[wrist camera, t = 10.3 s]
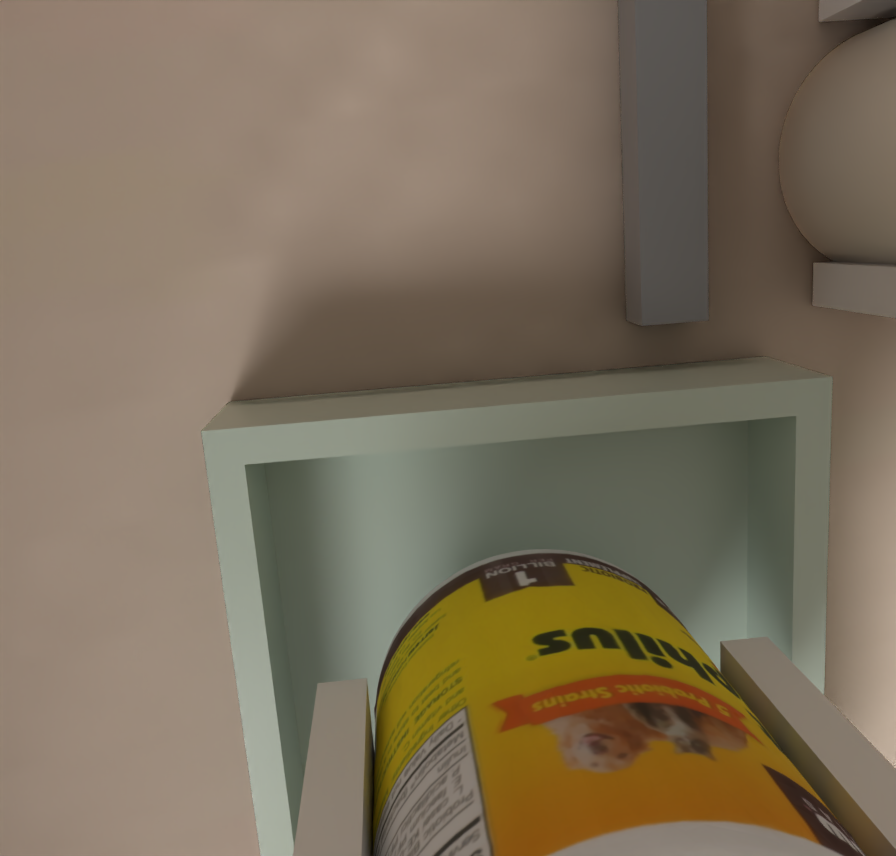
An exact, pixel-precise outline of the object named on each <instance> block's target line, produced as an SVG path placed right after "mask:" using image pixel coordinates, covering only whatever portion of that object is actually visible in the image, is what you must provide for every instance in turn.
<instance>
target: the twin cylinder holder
mask: <svg viewBox="0 0 896 856" xmlns="http://www.w3.org/2000/svg"><path fill="white" fill-rule="evenodd" d="M892 17H896V0H819V22H827V21H843V20H860V19H876V18H892ZM618 28H619V65H620V103H621V141H622V179H623V217H624V255H625V293H626V321H629V322H632V323H635V324H638V325H641V326H647V325H660V324H672V323H684V322H696V321H709V316H708V123H707V0H618ZM778 161H779V178H780V184H781V189H782V194H783V197H784V200H785V203H786V206H787V209H788V211H789V213H790V215H791V217H792V219H793V221H794V223H795V224H796V226H797V227H798V229H799V231H800V232H801V234H802V235H803V236H804V237H805V238H806V239H807V240H808V242H809V243H810V244H811V245H812V246H813V247H815V248H816V249H817V250H818V251H819V252H820V253H822V254H823V255H825V256H826V257H828V258H829V259H831V260H832V261H830V262H817V263H813V303H812V306H819V307H825V308H831V309H838V310H844V311H851V312H857V313H864V314H870V315H877V316H883V317H890V318H896V18H894V19H892V20H890V21H887V22H885V23H883V24H881V25H878V26H876V27H874V28H871V29H869V30H867V31H864V32H862V33H860V34H857V35H855V36H853V37H852V38H850V39H848V40H847V41H845V42H843V43H842V44H840V45H839V46H837V47H836V48H835V49H833V50H832V51H831V52H830V53H828V54H827V55H826V56H825V57H824V58H823V59H822V60H821V61H820V62H819V63H818V64H817V65H816V66H815V67H814V68H813V70H812V71H811V72H810V74H809V75H808V76H807V77H806V79H805V80H804V81H803V83H802V85H801V86H800V88H799V90H798V91H797V93H796V95H795V97H794V99H793V101H792V103H791V105H790V108H789V110H788V113H787V116H786V119H785V122H784V125H783V129H782V134H781V139H780V146H779V159H778Z"/></svg>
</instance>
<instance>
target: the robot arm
mask: <svg viewBox="0 0 896 856" xmlns="http://www.w3.org/2000/svg"><path fill="white" fill-rule="evenodd" d="M720 672H721V674H722V675H723V676H724V677H725V679H726V680H727V681H728V682H729V683H730V685H731V686H732V687H733V688H734V689H735V691H736V692H737V693H738V694H739V695H740V697H741V698H742V699H743V700H744V702H745V703H746V704H747V706H748V707H749V708H750V709H751V711H752V712H753V714H754V715H755V716H756V717H757V718H758V719H759V721H760V722H761V723H762V725H763V726H764V727H765V728H766V730H767V731H768V732H769V734H770V735H771V736H772V738H773V739H774V740H775V741H776V743H777V744H778V745H779V747H780V748H781V749H782V751H783V752H784V753H785V754H786V756H787V757H788V758H789V760H790V761H791V762H792V763H793V765H794V766H795V767H796V768H797V770H798V771H799V772H800V773H801V775H802V776H803V777H804V778H805V780H806V781H807V782H808V783H809V785H810V786H811V787H812V788H813V790H814V791H815V792H816V793H817V795H818V796H819V797H820V798H821V800H822V801H823V802H824V803H825V805H826V806H827V807H828V808H829V810H830V811H831V812H832V813H833V815H834V816H835V817H836V818H837V820H838V821H839V822H840V823H841V824H842V826H843V827H844V828H845V829H846V830H847V831H848V832H849V833H850V834H851V836H852V837H853V839H854V840H855V841H856V843H857V844H858V846H859V847H860V849H861V850H862V851H863V852H864V854H865V855H866V856H896V769H895V768H894V767H893V766H892V765H891V764H890V763H889V761H888V760H887V759H886V758H885V757H884V756H883V755H882V754H881V753H880V752H879V751H878V750H877V749H876V748H875V747H874V746H873V745H872V744H871V743H870V742H869V741H868V740H867V739H866V738H865V737H864V736H863V735H862V734H861V733H860V732H859V731H858V730H857V729H856V728H855V726H854V725H853V724H852V723H851V722H850V721H849V720H848V719H847V718H846V717H845V716H844V715H843V714H842V713H841V712H840V711H839V710H838V709H837V708H836V707H835V706H834V705H833V704H832V703H831V702H830V701H829V700H828V699H827V698H826V697H825V696H824V695H823V694H822V693H821V691H820V690H819V689H818V688H817V687H816V686H815V685H814V684H813V683H812V682H811V681H810V680H809V679H808V678H807V677H806V676H805V675H804V674H803V673H802V672H801V671H800V670H799V669H798V668H797V667H796V666H795V665H794V664H793V663H792V662H791V661H790V660H789V659H788V658H787V656H786V655H785V654H784V653H783V652H782V651H781V650H780V649H779V648H778V647H777V646H776V645H775V644H774V643H773V642H772V641H771V640H770V639H769V638H768V637H767V636H766V637H757V638H747V639H737V640H728V641H720ZM374 753H375V752H374V742H373V732H372V722H371V713H370V703H369V693H368V683H367V678H363V679H354V680H344V681H334V682H325V683H318V684H317V691H316V698H315V705H314V712H313V719H312V726H311V733H310V740H309V747H308V754H307V761H306V768H305V775H304V782H303V789H302V796H301V803H300V810H299V817H298V824H297V831H296V838H295V845H294V852H293V856H372V854H373V802H374Z"/></svg>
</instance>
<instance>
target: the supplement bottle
mask: <svg viewBox="0 0 896 856" xmlns="http://www.w3.org/2000/svg"><path fill="white" fill-rule="evenodd" d="M374 715H375V753H374V802H373V854H372V856H866V855H865V854H864V852H863V851H862V850H861V849H860V847H859V846H858V844H857V843H856V841H855V840H854V839H853V837H852V836H851V834H850V833H849V832H848V831H847V830H846V829H845V828H844V827H843V826H842V824H841V823H840V822H839V821H838V820H837V818H836V817H835V816H834V815H833V813H832V812H831V811H830V810H829V808H828V807H827V806H826V805H825V803H824V802H823V801H822V800H821V798H820V797H819V796H818V795H817V793H816V792H815V791H814V790H813V788H812V787H811V786H810V785H809V783H808V782H807V781H806V780H805V778H804V777H803V776H802V775H801V773H800V772H799V771H798V770H797V768H796V767H795V766H794V765H793V763H792V762H791V761H790V760H789V758H788V757H787V756H786V754H785V753H784V752H783V751H782V749H781V748H780V747H779V745H778V744H777V743H776V741H775V740H774V739H773V738H772V736H771V735H770V734H769V732H768V731H767V730H766V728H765V727H764V726H763V725H762V723H761V722H760V721H759V719H758V718H757V717H756V716H755V715H754V714H753V712H752V711H751V709H750V708H749V707H748V706H747V704H746V703H745V702H744V700H743V699H742V698H741V697H740V695H739V694H738V693H737V692H736V691H735V689H734V688H733V687H732V686H731V685H730V683H729V682H728V681H727V680H726V679H725V677H724V676H723V675H722V674H721V672H720V671H719V670H718V668H717V667H716V666H715V664H714V663H713V662H712V661H711V659H710V658H709V657H708V655H707V654H706V653H705V652H704V650H703V649H702V648H701V647H700V645H699V644H698V643H697V642H696V641H695V639H694V638H693V637H692V636H691V634H690V633H689V632H688V630H687V629H686V628H685V626H684V625H683V624H682V623H681V622H680V620H679V619H678V618H677V617H676V616H675V614H674V613H673V612H672V611H671V610H670V609H669V607H668V606H667V605H666V604H665V603H664V602H663V601H662V600H661V599H660V598H659V596H658V595H657V594H656V593H654V592H653V591H652V590H651V589H650V588H649V587H647V586H646V585H645V584H644V583H643V582H641V581H640V580H639V579H637V578H636V577H635V576H633V575H632V574H630V573H629V572H627V571H625V570H623V569H621V568H619V567H618V566H616V565H614V564H611V563H609V562H607V561H604V560H602V559H599V558H596V557H593V556H589V555H586V554H582V553H577V552H572V551H566V550H554V549H531V550H521V551H514V552H509V553H505V554H500V555H496V556H493V557H489V558H487V559H484V560H481V561H478V562H476V563H474V564H472V565H470V566H468V567H465V568H463V569H461V570H460V571H458V572H456V573H455V574H453V575H451V576H450V577H449V578H447V579H446V580H444V581H443V582H441V583H440V584H439V585H437V586H436V587H435V588H434V589H433V590H431V591H430V592H429V593H428V594H427V595H426V596H425V597H424V598H423V599H422V600H421V601H420V602H419V603H418V604H417V605H416V606H415V607H414V608H413V610H412V611H411V612H410V613H409V615H408V616H407V617H406V619H405V620H404V621H403V623H402V625H401V626H400V628H399V629H398V631H397V633H396V634H395V636H394V638H393V640H392V642H391V644H390V646H389V648H388V651H387V654H386V656H385V659H384V662H383V664H382V668H381V672H380V677H379V681H378V687H377V694H376V703H375V707H374Z"/></svg>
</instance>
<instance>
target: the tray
mask: <svg viewBox="0 0 896 856" xmlns="http://www.w3.org/2000/svg"><path fill="white" fill-rule="evenodd" d="M832 385H833V377H832V376H828V375H825V374H822V373H819V372H815V371H812V370H809V369H805V368H802V367H799V366H796V365H792V364H789V363H786V362H783V361H779V360H776V359H773V358H769V357H766V356H765V357H753V358H741V359H729V360H717V361H705V362H694V363H682V364H670V365H658V366H646V367H634V368H622V369H611V370H599V371H587V372H575V373H563V374H551V375H539V376H528V377H516V378H504V379H492V380H480V381H468V382H456V383H445V384H433V385H421V386H409V387H397V388H385V389H373V390H361V391H350V392H338V393H326V394H314V395H302V396H290V397H278V398H267V399H255V400H243V401H231V402H228V403H227V404H226V405H225V407H224V408H223V409H222V410H221V411H220V412H219V413H218V414H217V415H216V416H215V417H214V418H213V419H212V420H211V421H210V422H209V423H208V424H207V425H206V427H205V428H204V429H203V430H202V431H201V435H202V442H203V449H204V456H205V463H206V470H207V477H208V484H209V492H210V499H211V506H212V513H213V520H214V527H215V534H216V542H217V549H218V556H219V563H220V570H221V577H222V584H223V592H224V599H225V606H226V613H227V620H228V627H229V634H230V641H231V649H232V656H233V663H234V670H235V677H236V684H237V691H238V699H239V706H240V713H241V720H242V727H243V734H244V741H245V749H246V756H247V763H248V770H249V777H250V784H251V791H252V799H253V806H254V813H255V820H256V827H257V834H258V841H259V848H260V856H293V852H294V845H295V838H296V831H297V824H298V817H299V810H300V803H301V796H302V789H303V782H304V775H305V768H306V761H307V754H308V747H309V740H310V733H311V726H312V719H313V712H314V705H315V698H316V691H317V684H318V683H325V682H334V681H344V680H354V679H363V678H367V683H368V693H369V703H370V713H371V722H372V732H373V742H374V752H375V715H374V707H375V703H376V694H377V687H378V681H379V677H380V672H381V668H382V664H383V662H384V659H385V656H386V654H387V651H388V648H389V646H390V644H391V642H392V640H393V638H394V636H395V634H396V633H397V631H398V629H399V628H400V626H401V625H402V623H403V621H404V620H405V619H406V617H407V616H408V615H409V613H410V612H411V611H412V610H413V608H414V607H415V606H416V605H417V604H418V603H419V602H420V601H421V600H422V599H423V598H424V597H425V596H426V595H427V594H428V593H429V592H430V591H431V590H433V589H434V588H435V587H436V586H437V585H439V584H440V583H441V582H443V581H444V580H446V579H447V578H449V577H450V576H451V575H453V574H455V573H456V572H458V571H460V570H461V569H463V568H465V567H468V566H470V565H472V564H474V563H476V562H478V561H481V560H484V559H487V558H489V557H493V556H496V555H500V554H505V553H509V552H514V551H521V550H531V549H554V550H566V551H572V552H577V553H582V554H586V555H589V556H593V557H596V558H599V559H602V560H604V561H607V562H609V563H611V564H614V565H616V566H618V567H619V568H621V569H623V570H625V571H627V572H629V573H630V574H632V575H633V576H635V577H636V578H637V579H639V580H640V581H641V582H643V583H644V584H645V585H646V586H647V587H649V588H650V589H651V590H652V591H653V592H654V593H656V594H657V595H658V596H659V598H660V599H661V600H662V601H663V602H664V603H665V604H666V605H667V606H668V607H669V609H670V610H671V611H672V612H673V613H674V614H675V616H676V617H677V618H678V619H679V620H680V622H681V623H682V624H683V625H684V626H685V628H686V629H687V630H688V632H689V633H690V634H691V636H692V637H693V638H694V639H695V641H696V642H697V643H698V644H699V645H700V647H701V648H702V649H703V650H704V652H705V653H706V654H707V655H708V657H709V658H710V659H711V661H712V662H713V663H714V664H715V666H716V667H717V668H718V670H719V671H720V641H728V640H737V639H747V638H757V637H766V636H767V637H768V638H769V639H770V640H771V641H772V642H773V643H774V644H775V645H776V646H777V647H778V648H779V649H780V650H781V651H782V652H783V653H784V654H785V655H786V656H787V658H788V659H789V660H790V661H791V662H792V663H793V664H794V665H795V666H796V667H797V668H798V669H799V670H800V671H801V672H802V673H803V674H804V675H805V676H806V677H807V678H808V679H809V680H810V681H811V682H812V683H813V684H814V685H815V686H816V687H817V688H818V689H819V690H820V691H821V693H822V694H823V695H824V678H825V642H826V605H827V568H828V532H829V495H830V458H831V422H832Z"/></svg>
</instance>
